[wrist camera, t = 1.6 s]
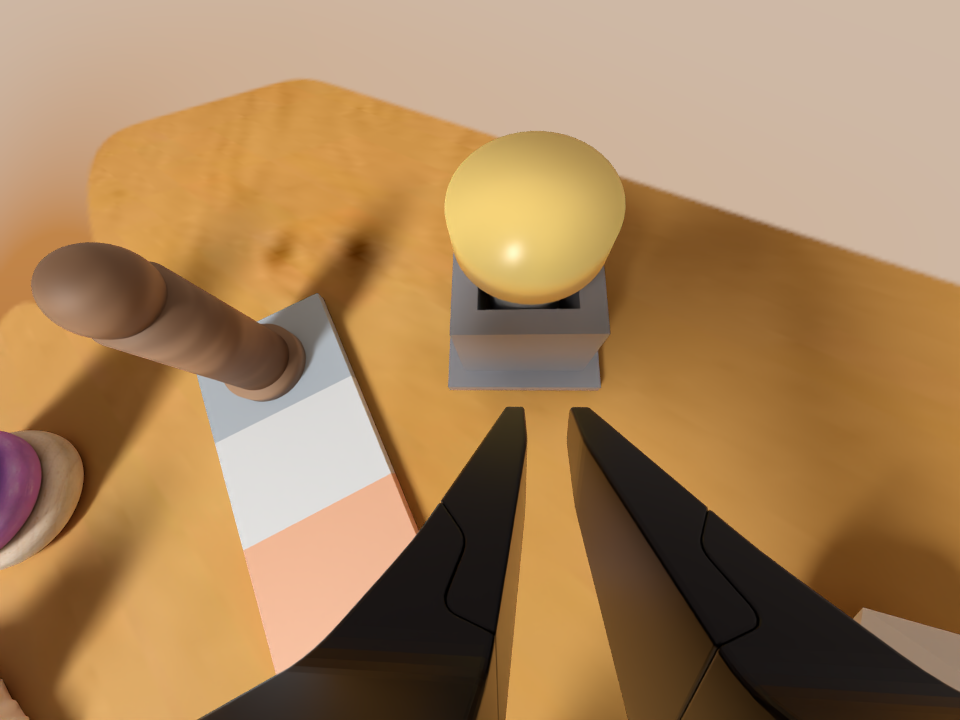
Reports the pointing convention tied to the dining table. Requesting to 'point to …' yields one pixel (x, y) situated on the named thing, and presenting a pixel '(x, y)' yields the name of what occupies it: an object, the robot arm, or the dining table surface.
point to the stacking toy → (35, 491)
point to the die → (917, 643)
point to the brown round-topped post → (164, 319)
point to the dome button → (533, 217)
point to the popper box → (526, 340)
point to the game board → (309, 489)
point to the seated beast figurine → (9, 706)
